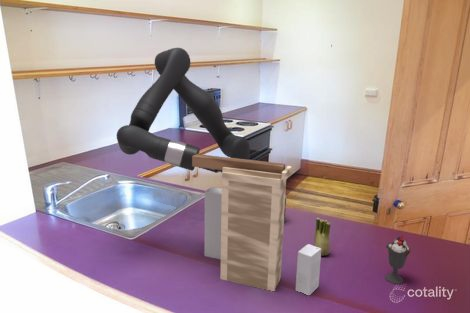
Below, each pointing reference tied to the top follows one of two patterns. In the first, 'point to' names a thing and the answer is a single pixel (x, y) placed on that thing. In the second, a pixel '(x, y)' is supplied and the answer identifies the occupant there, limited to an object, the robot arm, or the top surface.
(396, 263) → the sundae
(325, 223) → the fennel bulb
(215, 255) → the grey pedestal
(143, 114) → the robot arm
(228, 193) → the birch shelf
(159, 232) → the top surface
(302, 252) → the skincare box
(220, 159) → the walnut bar
